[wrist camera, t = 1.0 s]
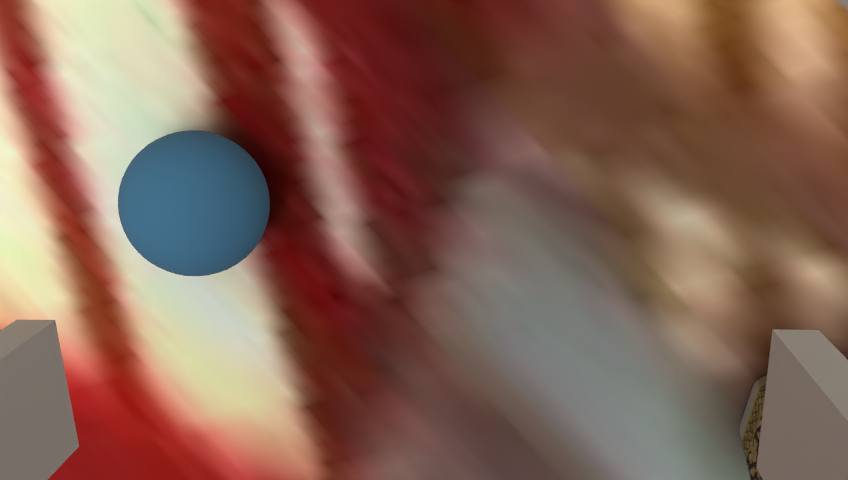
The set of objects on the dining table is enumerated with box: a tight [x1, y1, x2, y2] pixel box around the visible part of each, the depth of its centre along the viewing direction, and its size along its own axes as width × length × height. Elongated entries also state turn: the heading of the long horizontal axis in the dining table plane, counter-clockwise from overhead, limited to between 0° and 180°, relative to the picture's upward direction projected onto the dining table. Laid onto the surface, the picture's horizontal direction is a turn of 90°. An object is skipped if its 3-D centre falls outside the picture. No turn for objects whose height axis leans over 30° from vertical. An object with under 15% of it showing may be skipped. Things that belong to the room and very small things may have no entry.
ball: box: [118, 131, 270, 276], centre depth 31 cm, size 6×6×6 cm
